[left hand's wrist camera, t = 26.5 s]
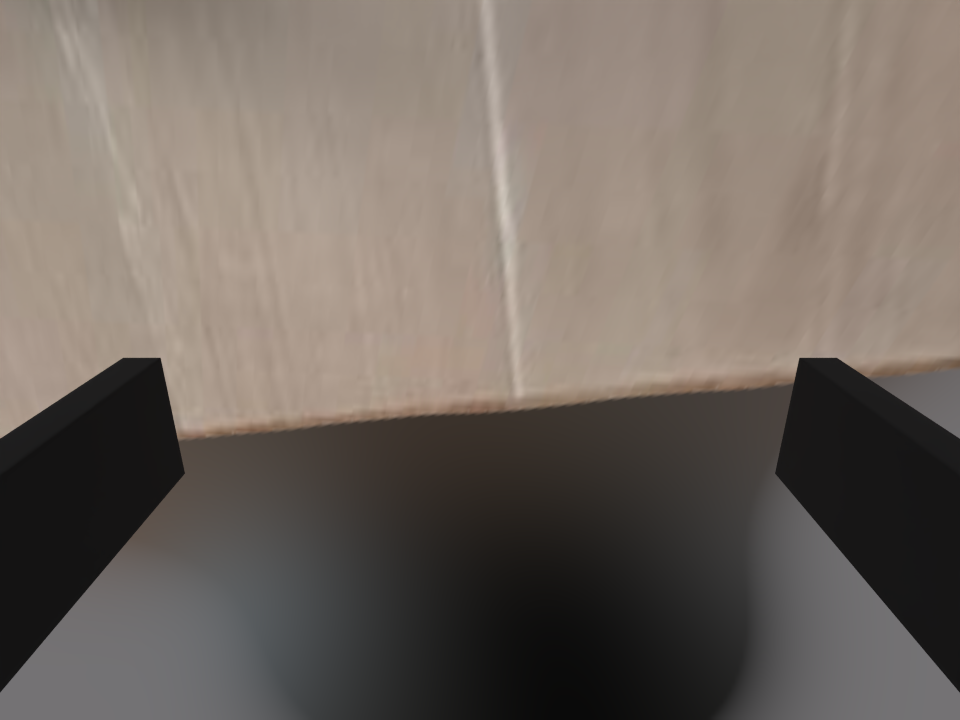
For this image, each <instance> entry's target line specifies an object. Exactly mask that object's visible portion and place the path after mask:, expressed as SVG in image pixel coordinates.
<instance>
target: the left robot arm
mask: <svg viewBox="0 0 960 720" xmlns="http://www.w3.org/2000/svg"><path fill="white" fill-rule="evenodd" d="M184 474H185V472H184V467H183V462H182V458H181V453H180V448H179V443H178V439H177V434H176V429H175V424H174V420H173V415H172V410H171V405H170V401H169V396H168V391H167V386H166V382H165V377H164V372H163V367H162V363H161V358H122V359H121V360H119V361H118V362H116V363H115V364H113V365H112V366H110V367H109V368H107V369H106V370H104V371H103V372H101V373H100V374H98V375H96V376H95V377H93V378H92V379H90V380H89V381H87V382H86V383H84V384H83V385H81V386H80V387H78V388H77V389H75V390H74V391H72V392H71V393H69V394H68V395H66V396H65V397H63V398H62V399H60V400H58V401H57V402H55V403H54V404H52V405H51V406H49V407H48V408H46V409H45V410H43V411H42V412H40V413H39V414H37V415H36V416H34V417H33V418H31V419H30V420H28V421H27V422H25V423H24V424H22V425H20V426H19V427H17V428H16V429H14V430H13V431H11V432H10V433H8V434H7V435H5V436H4V437H2V438H1V439H0V692H1V691H2V690H3V688H4V687H5V686H6V685H7V684H8V683H9V681H10V680H11V679H12V678H13V677H14V675H15V674H16V673H17V672H18V671H19V669H20V668H21V667H22V666H23V665H24V664H25V662H26V661H27V660H28V659H29V658H30V656H31V655H32V654H33V653H34V652H35V651H36V649H37V648H38V647H39V646H40V645H41V643H42V642H43V641H44V640H45V639H46V637H47V636H48V635H49V634H50V633H51V632H52V630H53V629H54V628H55V627H56V626H57V624H58V623H59V622H60V621H61V620H62V618H63V617H64V616H65V615H66V614H67V613H68V611H69V610H70V609H71V608H72V607H73V605H74V604H75V603H76V602H77V601H78V599H79V598H80V597H81V596H82V595H83V593H84V592H85V591H86V590H87V589H88V588H89V586H90V585H91V584H92V583H93V582H94V581H95V579H96V578H97V577H98V576H99V575H100V573H101V572H102V571H103V570H104V569H105V567H106V566H107V565H108V564H109V563H110V562H111V560H112V559H113V558H114V557H115V556H116V554H117V553H118V552H119V551H120V550H121V548H122V547H123V546H124V545H125V544H126V543H127V541H128V540H129V539H130V538H131V537H132V535H133V534H134V533H135V532H136V531H137V530H138V528H139V527H140V526H141V525H142V524H143V522H144V521H145V520H146V519H147V518H148V516H149V515H150V514H151V513H152V512H153V511H154V509H155V508H156V507H157V506H158V505H159V503H160V502H161V501H162V500H163V499H164V498H165V496H166V495H167V494H168V493H169V492H170V490H171V489H172V488H173V487H174V486H175V484H176V483H177V482H178V481H179V480H180V479H181V477H182V476H183V475H184ZM775 474H776V475H777V476H778V477H779V479H780V480H781V481H782V482H783V483H784V484H785V486H786V487H787V488H788V489H789V490H790V491H791V493H792V494H793V495H794V496H795V497H796V499H797V500H798V501H799V502H800V503H801V505H802V506H803V507H804V508H805V509H806V511H807V512H808V513H809V514H810V515H811V516H812V518H813V519H814V520H815V521H816V522H817V524H818V525H819V526H820V527H821V528H822V530H823V531H824V532H825V533H826V534H827V535H828V537H829V538H830V539H831V540H832V541H833V542H834V544H835V545H836V546H837V547H838V548H839V550H840V551H841V552H842V553H843V554H844V556H845V557H846V558H847V559H848V560H849V562H850V563H851V564H852V565H853V566H854V567H855V569H856V570H857V571H858V572H859V573H860V575H861V576H862V577H863V578H864V579H865V580H866V582H867V583H868V584H869V585H870V586H871V588H872V589H873V590H874V591H875V592H876V594H877V595H878V596H879V597H880V598H881V600H882V601H883V602H884V603H885V604H886V605H887V607H888V608H889V609H890V610H891V611H892V613H893V614H894V615H895V616H896V617H897V618H898V620H899V621H900V622H901V623H902V624H903V626H904V627H905V628H906V629H907V630H908V632H909V633H910V634H911V635H912V636H913V637H914V639H915V640H916V641H917V642H918V643H919V645H920V646H921V647H922V648H923V649H924V650H925V652H926V653H927V654H928V655H929V656H930V658H931V659H932V660H933V661H934V662H935V664H936V665H937V666H938V667H939V668H940V670H941V671H942V672H943V673H944V674H945V675H946V677H947V678H948V679H949V680H950V681H951V683H952V684H953V685H954V686H955V687H956V688H957V690H958V691H959V692H960V439H959V438H958V437H956V436H955V435H953V434H952V433H950V432H949V431H947V430H946V429H944V428H943V427H941V426H940V425H938V424H936V423H935V422H933V421H932V420H930V419H929V418H927V417H926V416H924V415H923V414H921V413H920V412H918V411H917V410H915V409H914V408H912V407H911V406H909V405H908V404H906V403H905V402H903V401H902V400H900V399H898V398H897V397H895V396H894V395H892V394H891V393H889V392H888V391H886V390H885V389H883V388H882V387H880V386H879V385H877V384H876V383H874V382H873V381H871V380H870V379H868V378H867V377H865V376H864V375H862V374H860V373H859V372H857V371H856V370H854V369H853V368H851V367H850V366H848V365H847V364H845V363H844V362H842V361H841V360H839V359H838V358H799V363H798V367H797V372H796V377H795V382H794V386H793V391H792V396H791V401H790V406H789V410H788V415H787V420H786V424H785V429H784V434H783V439H782V443H781V448H780V453H779V458H778V463H777V468H776V472H775Z"/></svg>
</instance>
